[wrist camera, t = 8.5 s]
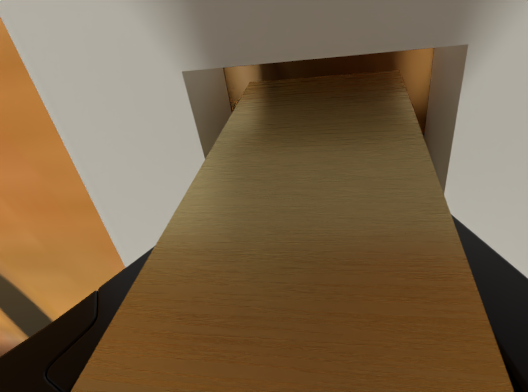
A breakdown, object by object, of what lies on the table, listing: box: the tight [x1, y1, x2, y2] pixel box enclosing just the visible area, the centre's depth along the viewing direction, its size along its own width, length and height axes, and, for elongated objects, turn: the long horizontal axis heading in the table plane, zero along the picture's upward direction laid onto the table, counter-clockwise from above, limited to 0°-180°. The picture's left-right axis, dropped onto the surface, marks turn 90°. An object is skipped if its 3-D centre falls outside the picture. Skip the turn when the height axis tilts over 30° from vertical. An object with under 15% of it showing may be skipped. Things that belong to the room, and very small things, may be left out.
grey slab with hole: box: [0, 0, 528, 278], centre depth 11 cm, size 14×12×3 cm
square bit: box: [71, 70, 514, 392], centre depth 7 cm, size 4×4×10 cm
